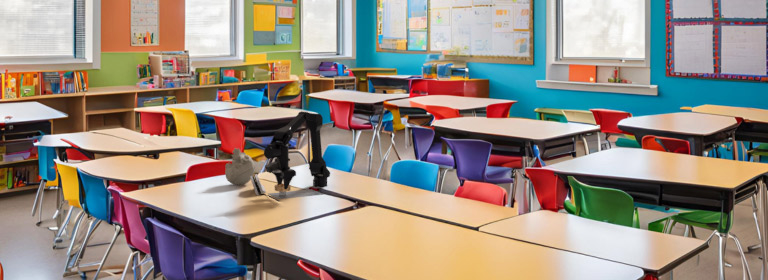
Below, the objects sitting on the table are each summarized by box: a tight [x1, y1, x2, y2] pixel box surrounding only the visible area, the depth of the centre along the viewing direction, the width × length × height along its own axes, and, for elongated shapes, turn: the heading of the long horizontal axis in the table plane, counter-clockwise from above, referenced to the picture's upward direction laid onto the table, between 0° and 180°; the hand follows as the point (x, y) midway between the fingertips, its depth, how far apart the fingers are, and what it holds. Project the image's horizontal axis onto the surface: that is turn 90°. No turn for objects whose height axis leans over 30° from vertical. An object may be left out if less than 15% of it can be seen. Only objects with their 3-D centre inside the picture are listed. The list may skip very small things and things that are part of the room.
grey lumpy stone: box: [224, 147, 256, 186], centre depth 377 cm, size 13×15×20 cm
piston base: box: [266, 188, 325, 202], centre depth 352 cm, size 24×14×5 cm, turn 121°
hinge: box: [250, 173, 267, 196], centre depth 362 cm, size 17×5×10 cm, turn 13°
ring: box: [274, 183, 292, 192], centre depth 349 cm, size 7×7×2 cm
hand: (282, 188), depth 349 cm, fingers closed on ring, 7 cm apart
